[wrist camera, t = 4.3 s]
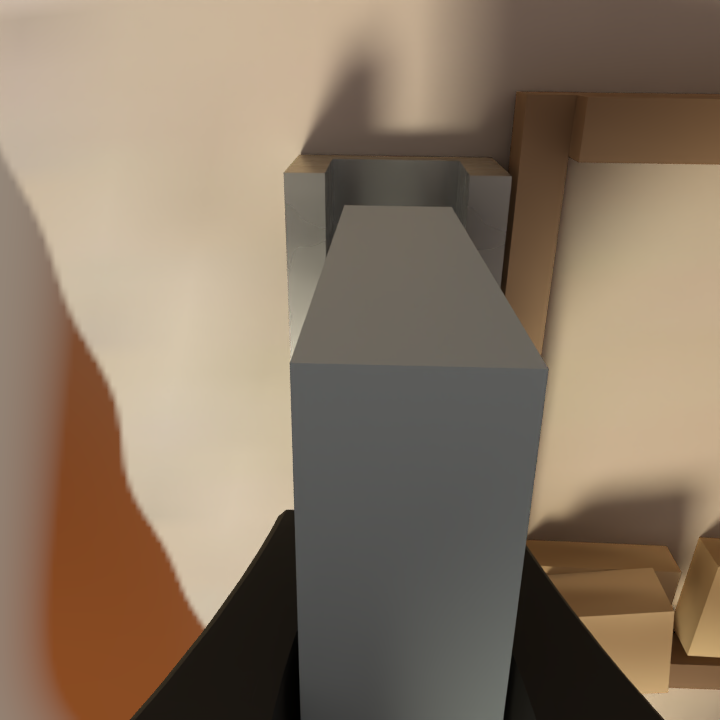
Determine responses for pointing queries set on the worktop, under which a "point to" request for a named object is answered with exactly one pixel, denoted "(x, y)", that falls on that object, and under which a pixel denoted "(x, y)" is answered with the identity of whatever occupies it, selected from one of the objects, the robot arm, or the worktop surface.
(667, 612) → the offcut
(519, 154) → the wooden tray
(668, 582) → the offcut
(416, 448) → the grey flat block
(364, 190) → the holder
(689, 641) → the offcut
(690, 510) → the worktop surface
